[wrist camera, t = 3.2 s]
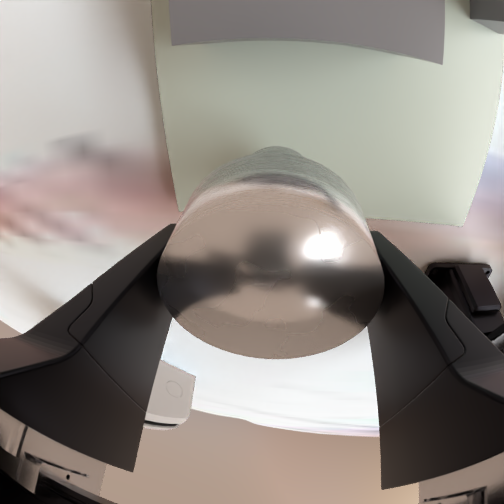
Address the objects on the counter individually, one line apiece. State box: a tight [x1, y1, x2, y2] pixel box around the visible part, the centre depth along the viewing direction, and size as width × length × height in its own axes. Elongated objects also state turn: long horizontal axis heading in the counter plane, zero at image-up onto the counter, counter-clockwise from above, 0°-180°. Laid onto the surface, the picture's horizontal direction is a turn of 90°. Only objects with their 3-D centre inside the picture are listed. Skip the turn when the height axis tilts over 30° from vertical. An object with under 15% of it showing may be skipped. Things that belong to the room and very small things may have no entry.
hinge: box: [143, 360, 196, 430], centre depth 27 cm, size 17×5×10 cm, turn 48°
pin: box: [157, 146, 385, 359], centre depth 9 cm, size 6×6×6 cm
